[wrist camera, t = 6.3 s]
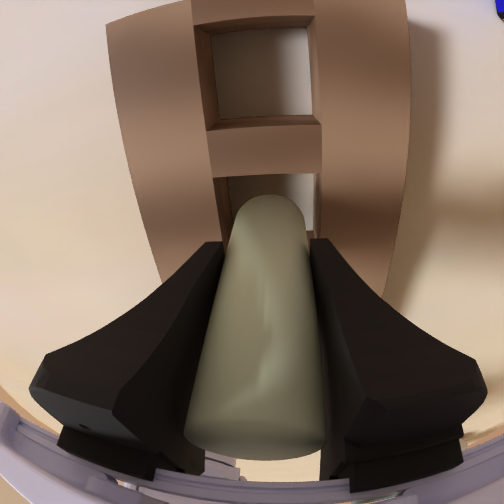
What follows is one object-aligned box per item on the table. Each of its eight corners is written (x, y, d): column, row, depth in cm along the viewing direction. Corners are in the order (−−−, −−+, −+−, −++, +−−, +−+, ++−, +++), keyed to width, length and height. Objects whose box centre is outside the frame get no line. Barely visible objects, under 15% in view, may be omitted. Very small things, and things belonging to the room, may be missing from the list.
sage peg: (305, 253, 13) (321, 459, 6) (240, 257, 14) (204, 456, 6) (303, 191, 11) (334, 417, 4) (229, 197, 12) (161, 412, 4)
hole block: (358, 321, 20) (365, 353, 18) (198, 323, 22) (189, 354, 19) (381, 12, 9) (404, 0, 7) (135, 29, 10) (105, 24, 8)
